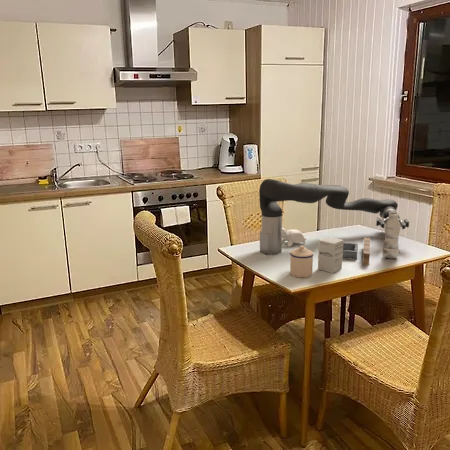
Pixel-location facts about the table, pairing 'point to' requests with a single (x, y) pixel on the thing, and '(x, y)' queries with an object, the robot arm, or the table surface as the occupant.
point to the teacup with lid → (301, 262)
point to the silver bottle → (391, 236)
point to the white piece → (292, 236)
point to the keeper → (350, 250)
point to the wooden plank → (366, 251)
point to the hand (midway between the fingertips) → (393, 226)
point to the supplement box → (330, 254)
